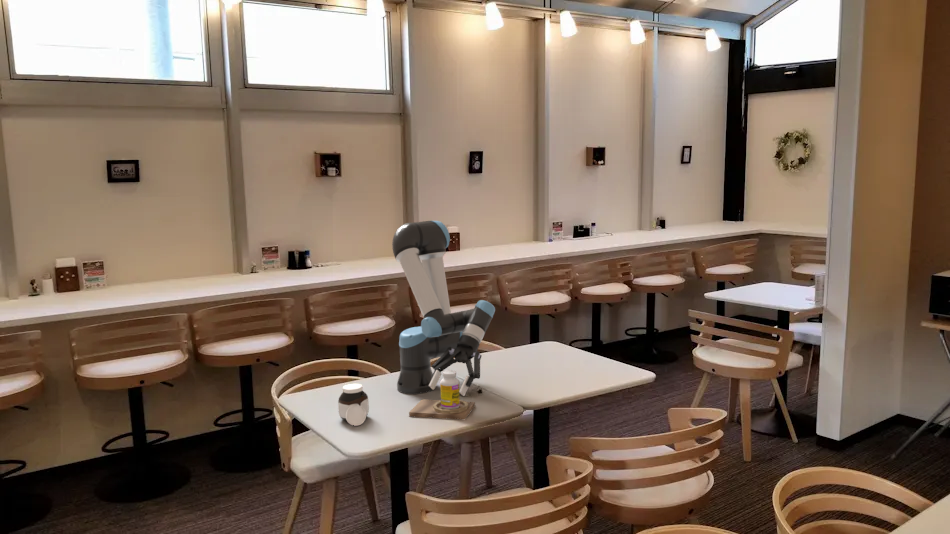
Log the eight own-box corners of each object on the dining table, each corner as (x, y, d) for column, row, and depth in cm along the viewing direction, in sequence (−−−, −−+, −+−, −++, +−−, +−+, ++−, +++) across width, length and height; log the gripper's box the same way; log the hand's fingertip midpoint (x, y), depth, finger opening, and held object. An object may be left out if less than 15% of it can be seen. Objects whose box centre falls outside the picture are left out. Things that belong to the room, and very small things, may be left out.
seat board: (409, 416, 253) (408, 409, 253) (422, 403, 267) (421, 396, 266) (464, 419, 248) (464, 412, 248) (475, 406, 262) (474, 399, 261)
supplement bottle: (453, 411, 252) (451, 375, 250) (437, 408, 256) (436, 373, 254) (463, 405, 258) (462, 370, 256) (448, 403, 261) (446, 368, 259)
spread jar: (357, 412, 259) (356, 381, 257) (379, 418, 252) (378, 386, 250) (331, 422, 250) (329, 389, 248) (353, 429, 243) (351, 395, 241)
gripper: (503, 349, 259) (479, 402, 249) (448, 340, 273) (424, 390, 264) (494, 338, 254) (469, 391, 244) (439, 329, 268) (413, 379, 259)
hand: (446, 390), depth 254 cm, fingers open, 13 cm apart
